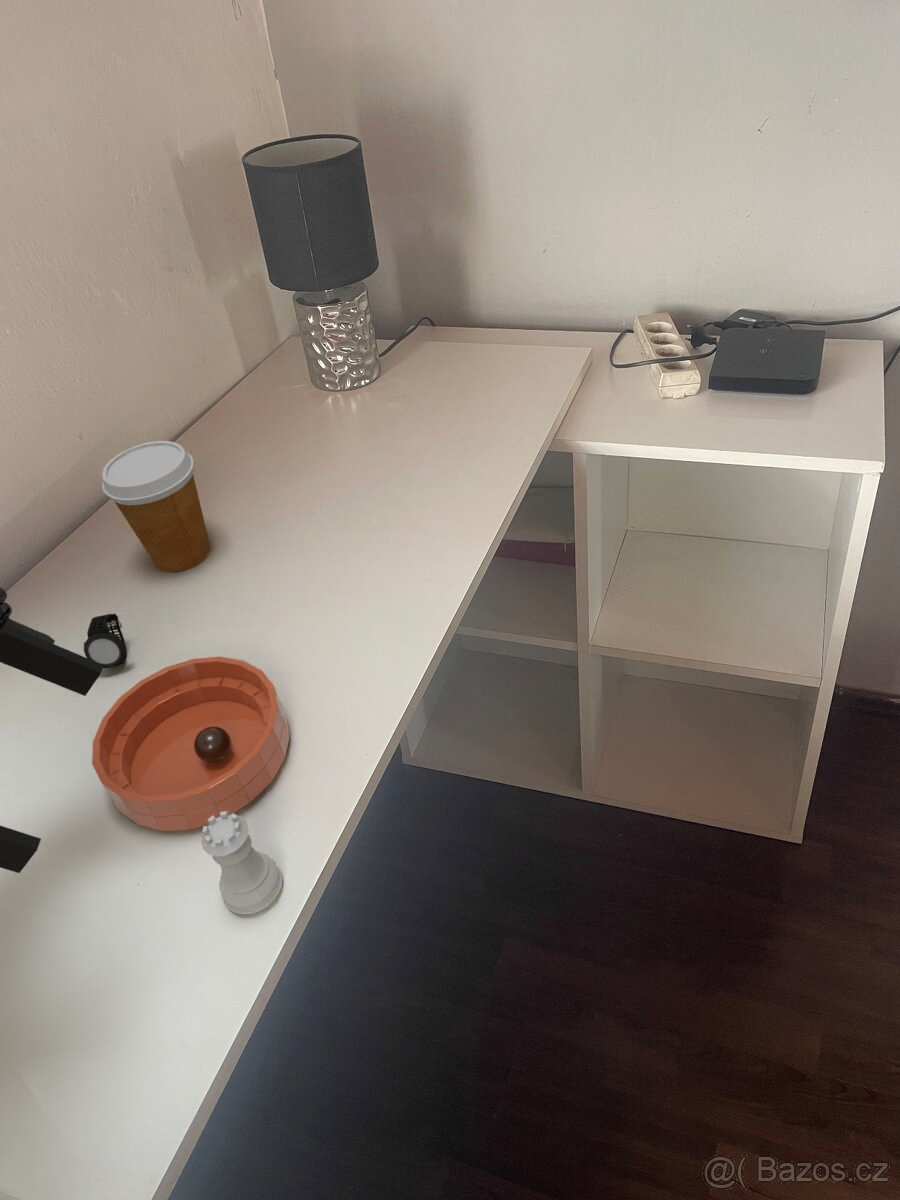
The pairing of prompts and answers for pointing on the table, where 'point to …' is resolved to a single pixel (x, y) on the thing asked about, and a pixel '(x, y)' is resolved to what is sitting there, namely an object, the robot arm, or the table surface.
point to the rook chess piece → (240, 865)
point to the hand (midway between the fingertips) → (66, 760)
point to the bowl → (190, 743)
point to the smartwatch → (105, 641)
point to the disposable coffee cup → (160, 502)
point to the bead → (212, 744)
